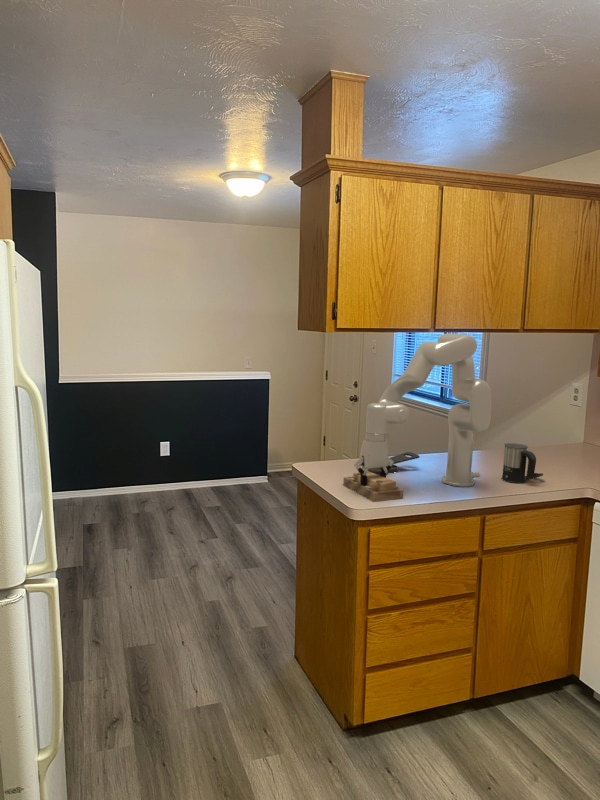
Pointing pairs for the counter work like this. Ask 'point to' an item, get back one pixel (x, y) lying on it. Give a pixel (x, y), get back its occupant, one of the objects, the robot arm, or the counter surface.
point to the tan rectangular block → (376, 482)
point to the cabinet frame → (371, 494)
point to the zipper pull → (396, 460)
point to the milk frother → (518, 463)
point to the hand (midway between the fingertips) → (373, 483)
